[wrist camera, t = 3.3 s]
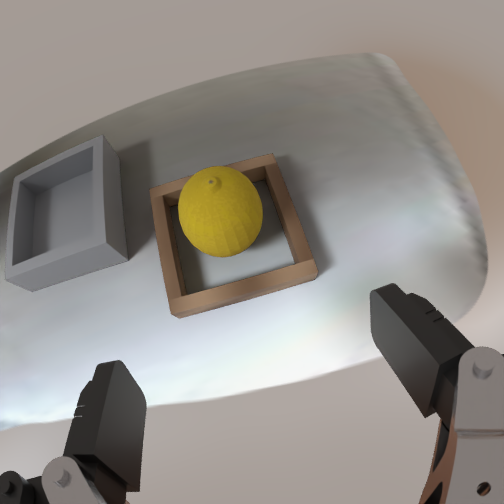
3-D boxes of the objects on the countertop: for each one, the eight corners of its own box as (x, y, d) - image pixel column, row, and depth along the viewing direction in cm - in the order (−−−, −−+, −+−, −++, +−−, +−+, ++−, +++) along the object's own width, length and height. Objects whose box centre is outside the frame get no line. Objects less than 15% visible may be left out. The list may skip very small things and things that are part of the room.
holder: (32, 291, 24) (4, 280, 21) (35, 195, 28) (14, 177, 24) (128, 260, 25) (106, 242, 21) (119, 158, 28) (103, 134, 25)
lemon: (198, 276, 24) (165, 235, 16) (191, 212, 26) (162, 154, 18) (270, 263, 24) (269, 215, 16) (257, 199, 26) (251, 135, 18)
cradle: (179, 318, 23) (171, 314, 21) (157, 200, 26) (149, 188, 25) (314, 279, 23) (318, 272, 21) (272, 167, 27) (272, 153, 25)
